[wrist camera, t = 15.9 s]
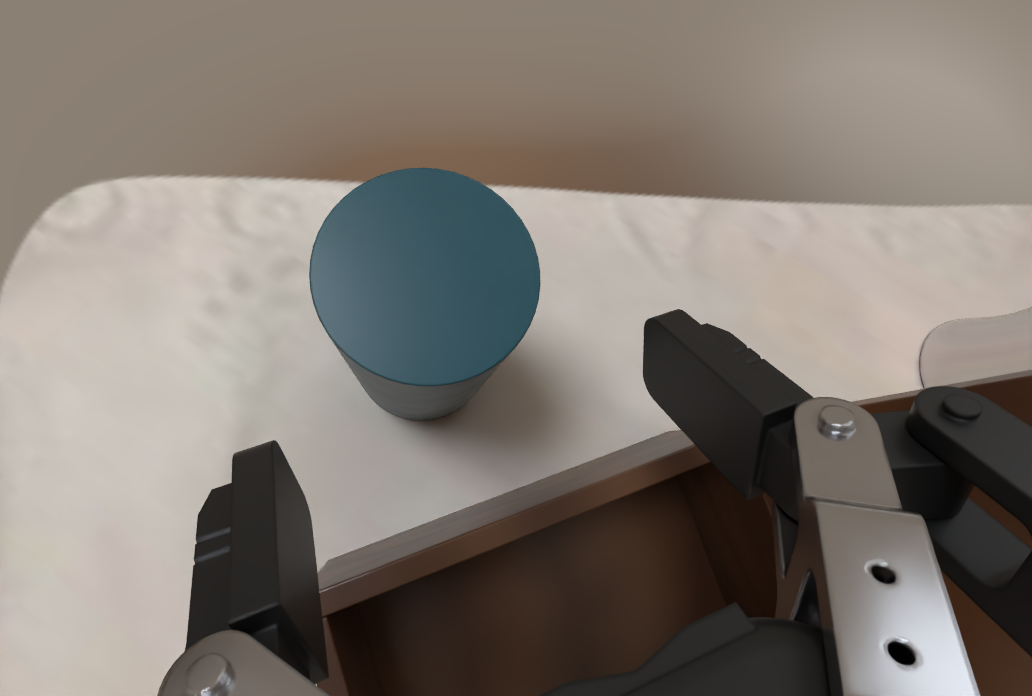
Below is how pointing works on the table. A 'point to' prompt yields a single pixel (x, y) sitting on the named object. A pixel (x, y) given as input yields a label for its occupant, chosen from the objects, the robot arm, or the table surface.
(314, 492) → the table surface
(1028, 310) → the beer glass
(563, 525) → the bin
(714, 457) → the robot arm
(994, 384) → the bin lid
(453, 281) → the can
